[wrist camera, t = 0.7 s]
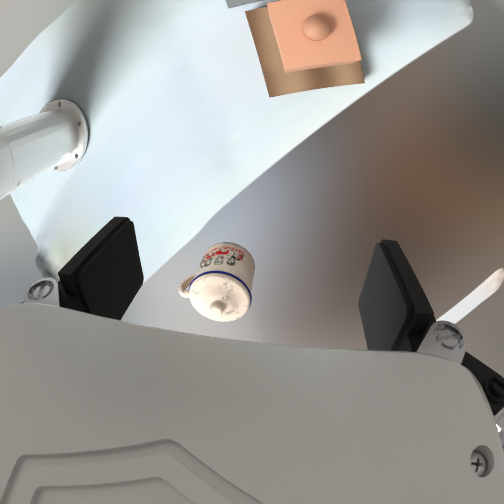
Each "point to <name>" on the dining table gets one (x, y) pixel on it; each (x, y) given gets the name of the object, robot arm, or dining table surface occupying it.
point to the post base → (295, 80)
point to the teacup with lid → (221, 283)
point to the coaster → (239, 2)
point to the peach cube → (313, 33)
